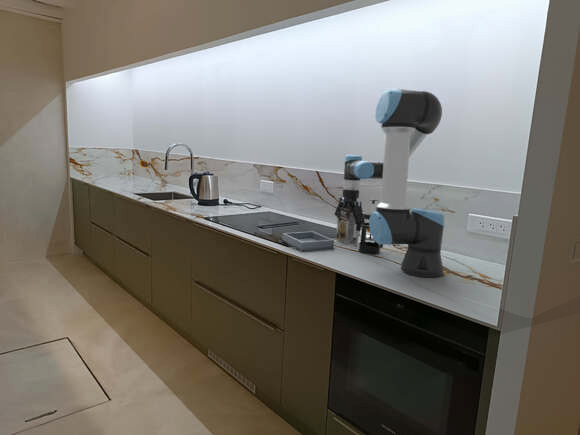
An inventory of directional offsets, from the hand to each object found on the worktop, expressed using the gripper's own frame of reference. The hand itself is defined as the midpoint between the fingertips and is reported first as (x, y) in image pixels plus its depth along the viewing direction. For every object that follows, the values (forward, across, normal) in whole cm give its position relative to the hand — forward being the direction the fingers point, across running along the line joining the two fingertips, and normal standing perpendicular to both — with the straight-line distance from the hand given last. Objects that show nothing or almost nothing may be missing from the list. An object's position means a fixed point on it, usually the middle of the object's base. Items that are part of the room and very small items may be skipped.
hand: (347, 234), depth 191 cm
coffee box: (+4, 0, 0) cm, 4 cm away
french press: (+4, -17, 0) cm, 18 cm away
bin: (+4, +1, +21) cm, 21 cm away
